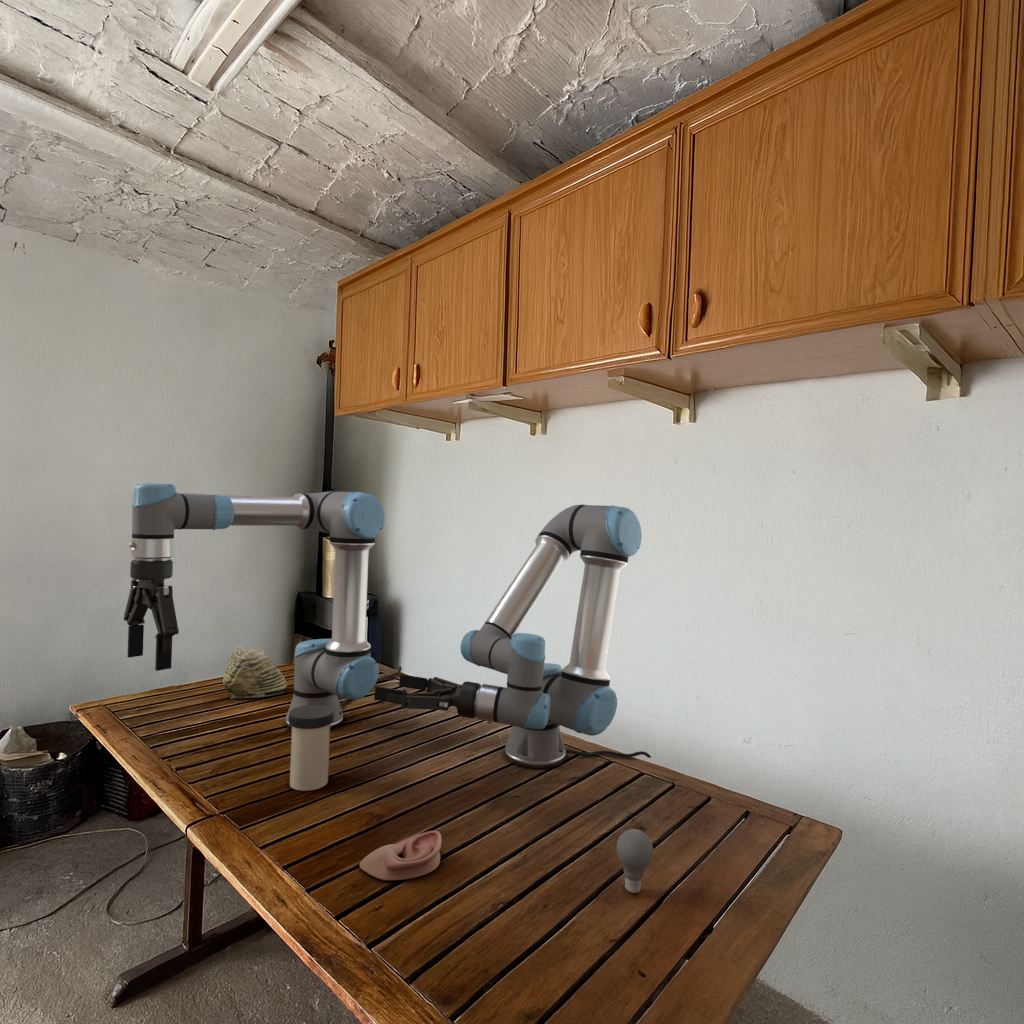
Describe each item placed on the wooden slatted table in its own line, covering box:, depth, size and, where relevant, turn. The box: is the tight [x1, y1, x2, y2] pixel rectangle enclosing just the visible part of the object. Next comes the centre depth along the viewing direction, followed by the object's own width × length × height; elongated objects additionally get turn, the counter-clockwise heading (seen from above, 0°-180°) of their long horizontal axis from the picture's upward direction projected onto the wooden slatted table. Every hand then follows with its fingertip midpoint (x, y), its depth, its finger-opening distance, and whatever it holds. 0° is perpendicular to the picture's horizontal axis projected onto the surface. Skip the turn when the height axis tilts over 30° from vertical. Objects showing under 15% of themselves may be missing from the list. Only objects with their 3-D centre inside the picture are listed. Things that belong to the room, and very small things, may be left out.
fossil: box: [222, 646, 288, 699], centre depth 198 cm, size 9×18×15 cm, turn 132°
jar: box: [289, 724, 331, 792], centre depth 140 cm, size 8×8×15 cm
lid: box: [289, 705, 334, 729], centre depth 140 cm, size 9×9×2 cm
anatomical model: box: [359, 830, 443, 882], centre depth 111 cm, size 13×4×12 cm
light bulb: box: [615, 828, 654, 894], centre depth 106 cm, size 6×6×10 cm
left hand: (148, 662), depth 129 cm, fingers open, 13 cm apart
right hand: (388, 686), depth 143 cm, fingers open, 13 cm apart
